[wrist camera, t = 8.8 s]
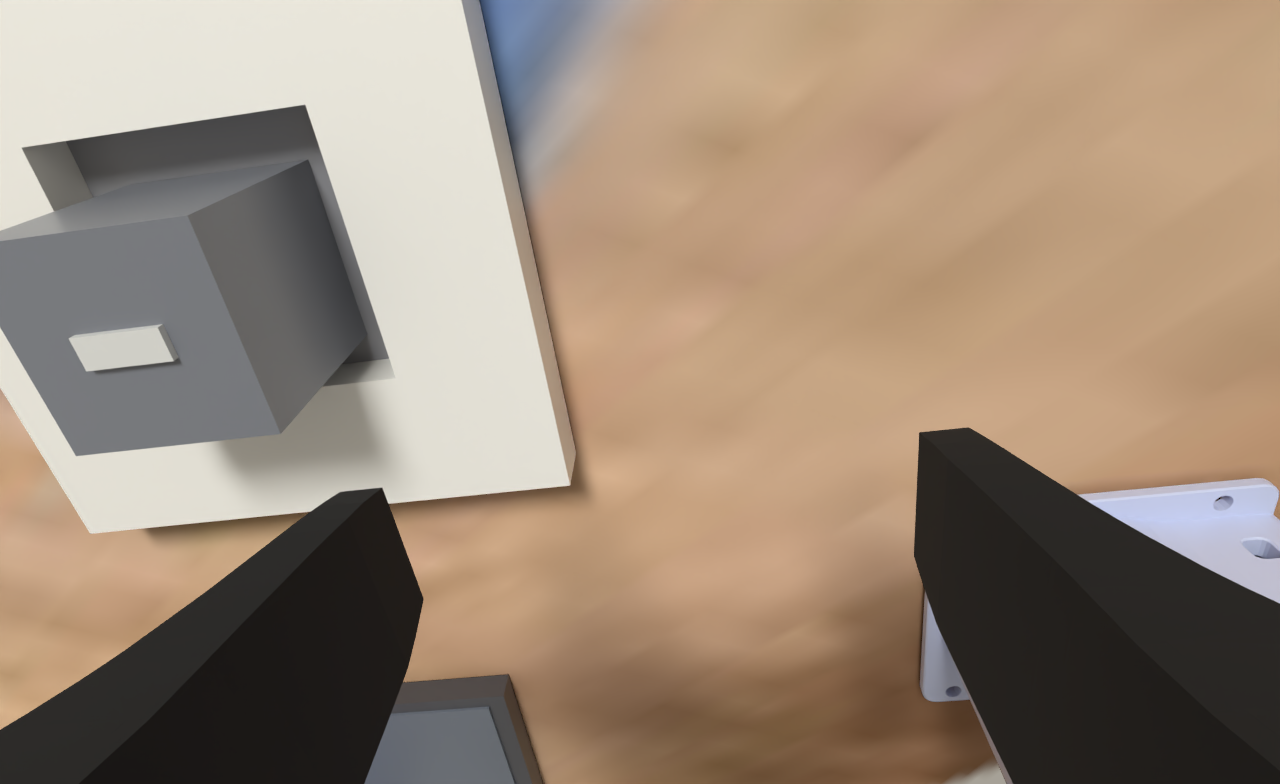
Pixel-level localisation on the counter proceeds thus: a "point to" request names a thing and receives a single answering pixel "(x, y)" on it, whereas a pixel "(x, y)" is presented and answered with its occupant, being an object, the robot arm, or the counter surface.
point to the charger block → (180, 308)
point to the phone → (455, 735)
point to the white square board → (359, 217)
